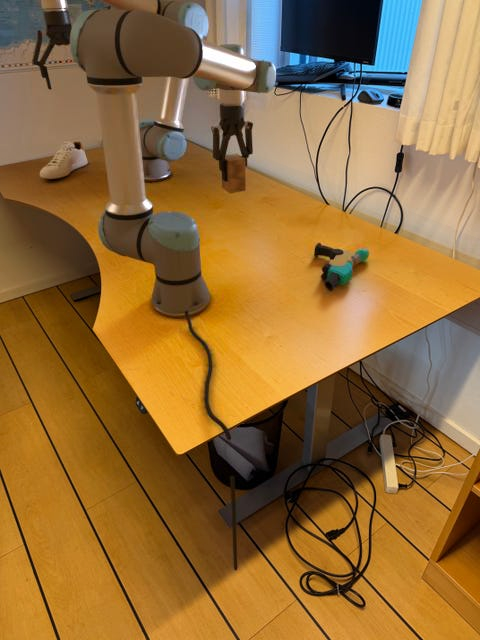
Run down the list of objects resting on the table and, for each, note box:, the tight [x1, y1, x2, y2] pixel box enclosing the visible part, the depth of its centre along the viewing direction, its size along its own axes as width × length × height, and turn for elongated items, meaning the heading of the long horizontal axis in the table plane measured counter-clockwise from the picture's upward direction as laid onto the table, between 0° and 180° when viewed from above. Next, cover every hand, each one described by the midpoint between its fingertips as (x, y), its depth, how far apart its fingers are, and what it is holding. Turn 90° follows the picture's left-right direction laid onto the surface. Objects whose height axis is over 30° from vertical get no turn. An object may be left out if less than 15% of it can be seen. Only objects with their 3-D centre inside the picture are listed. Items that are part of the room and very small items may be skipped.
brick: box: [221, 153, 247, 195], centre depth 156 cm, size 6×6×11 cm
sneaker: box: [39, 141, 89, 180], centre depth 207 cm, size 10×29×12 cm, turn 163°
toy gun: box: [313, 242, 370, 292], centre depth 136 cm, size 4×26×15 cm
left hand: (71, 86), depth 157 cm, fingers open, 13 cm apart
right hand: (233, 178), depth 157 cm, fingers closed on brick, 6 cm apart
